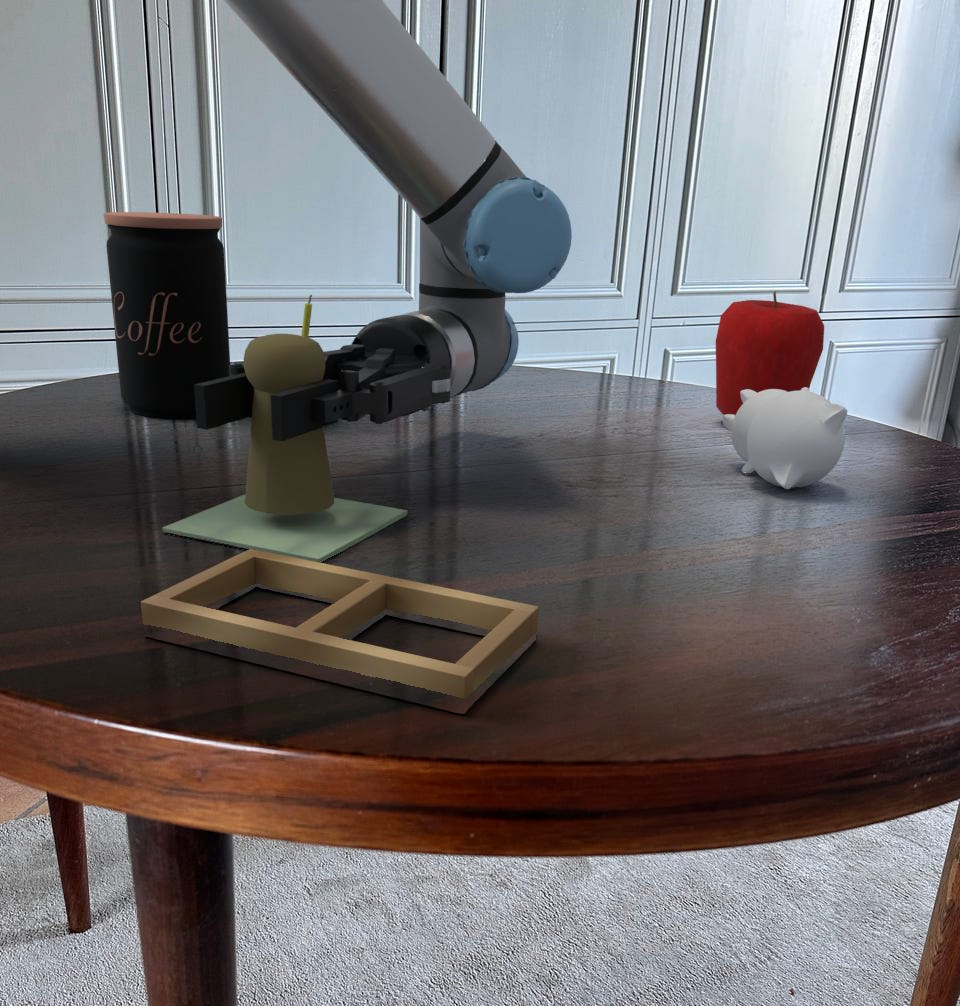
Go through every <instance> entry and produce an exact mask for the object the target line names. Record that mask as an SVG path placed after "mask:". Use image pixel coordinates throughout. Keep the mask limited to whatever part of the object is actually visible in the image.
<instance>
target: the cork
mask: <svg viewBox="0 0 960 1006" xmlns="http://www.w3.org/2000/svg"><path fill="white" fill-rule="evenodd" d="M324 352H325V351H324V349H323V348H322V346H321V345H320V343H319V342H317V341H316V340H315V339H313V338H311V337H309V336H308V337H304V336H301V335H300V334H295V333H294V334H293V333H271V334H265V335H262V336H258V337H254V338H253V339H252V340H250V341H249V342H248V345H247V346H246V348H245V351H244V355H243V362H244V370H245V373H246V376H247V379H248V380H249V381H250V383H251V384H252V386H253V387H254V396H253V408H252V418H251V422H250V434H249V447H248V460H247V471H246V472H247V473H246V485H245V494H246V495H245V494H244V495H245V504H246V505H247V507H248V508H251V509H253V510H255V511H259V512H263V513H268V514H277V515H298V514H309V513H314V512H319V511H322V510H325V509H328V508H330V507H331V506H332V505H334V498H335V494H334V488H333V481H332V474H331V470H330V469H331V468H330V463H329V456H328V455H329V454H328V449H327V443H326V436H325V435H326V434H325V429H324V427H322V428H319V429H317V430H314V431H311V432H308V433H305V434H302V435H299V436H297V437H294V438H291V439H288V440H285V441H278V440H273V439H272V415H271V395H272V394H276V393H279V392H283V391H287V390H290V389H294V388H297V387H301V386H305V385H308V384H312V383H315V382H319V381H322V380H323V377H324V372H325V356H324Z"/></svg>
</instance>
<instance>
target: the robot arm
mask: <svg viewBox="0 0 960 1006" xmlns="http://www.w3.org/2000/svg"><path fill="white" fill-rule="evenodd" d="M223 1H224V2H225V3H226V4H227V6H228V7H229V8H230V9H231V10H232V11H233V12H234V13H235V14H236V16H237V17H238V18H239V19H240V20H241V21H242V23H244V24H245V25H246V27H247V28H248V29H249V30H250V31H251V32H252V34H254V35H255V37H256V38H257V39H258V40H259V41H260V42H261V44H263V45H264V47H265V48H266V49H267V50H268V51H269V52H270V53H271V55H273V56H274V58H275V59H276V60H277V61H278V62H279V63H280V64H281V65H282V67H284V69H285V70H286V71H287V72H288V73H289V74H290V75H291V76H292V78H293V79H294V80H295V81H296V82H297V83H298V84H299V85H300V87H301V88H302V89H303V90H304V91H306V93H307V94H308V95H309V96H310V97H311V98H312V100H313V101H314V102H315V103H316V104H317V105H318V107H320V109H321V110H322V111H323V112H324V113H325V114H326V115H327V117H329V119H330V120H331V121H332V122H333V123H334V125H336V126H337V128H339V130H340V131H341V132H342V133H343V134H344V136H346V137H347V138H348V139H349V141H350V142H351V144H353V145H354V146H355V147H356V148H357V149H358V151H359V152H360V153H361V154H362V155H363V156H364V157H365V158H366V160H368V162H369V163H370V164H371V165H372V166H373V167H374V169H376V170H377V171H378V173H379V174H380V175H381V176H382V177H383V178H384V179H385V181H387V183H388V184H389V185H390V186H391V187H392V188H393V189H394V191H395V192H396V193H397V194H398V195H399V196H400V197H401V198H402V200H404V202H405V203H406V204H407V205H408V206H409V207H410V208H411V209H412V211H414V213H415V214H416V216H418V218H419V283H418V310H415V311H409V312H405V313H400V314H398V315H393V316H387V317H382V318H378V319H375V320H373V321H371V322H369V323H368V324H366V325H365V326H363V327H362V328H360V330H359V331H358V333H357V334H356V336H355V337H354V339H353V340H352V342H351V344H346V345H342V346H341V347H340V348H339V349H333V350H332V349H331V350H326V351H323V352H324V356H325V372H324V377H323V380H322V381H319V382H315V383H312V384H308V385H305V386H301V387H297V388H294V389H290V390H287V391H283V392H279V393H276V394H272V395H271V415H272V439H273V440H278V441H285V440H288V439H291V438H294V437H297V436H299V435H302V434H305V433H308V432H311V431H314V430H317V429H319V428H322V427H323V428H324V427H328V426H331V425H334V424H336V423H339V420H342V421H346V422H347V423H354V422H358V421H360V420H361V419H362V418H363V417H365V416H366V415H369V422H371V423H375V424H376V425H382V424H384V423H388V422H390V421H393V420H396V419H399V418H400V417H401V418H402V417H407V416H410V415H412V414H414V413H418V412H419V411H421V412H428V411H431V409H432V406H434V405H437V404H438V405H439V404H446V403H450V402H451V399H452V398H454V397H457V396H460V395H463V394H466V393H469V392H476V391H478V390H482V389H484V388H486V387H488V386H490V384H492V383H494V382H496V381H497V380H498V379H500V378H502V377H503V376H504V375H505V374H506V373H507V372H508V371H509V370H510V369H511V368H512V366H513V364H514V362H515V360H516V358H517V355H518V350H519V341H520V340H519V333H518V329H517V326H516V324H515V322H514V320H513V317H512V316H511V314H510V313H509V311H507V310H506V298H507V297H506V294H525V293H531V292H534V291H537V290H539V289H541V288H544V287H545V286H546V285H548V284H550V282H552V281H553V280H554V279H555V278H557V276H558V274H559V273H560V272H561V270H562V268H563V267H564V265H565V263H566V261H567V259H568V257H569V254H570V250H571V246H572V238H573V237H572V236H573V235H572V233H573V232H572V231H573V229H572V224H571V219H570V215H569V212H568V211H567V207H566V206H565V204H564V203H563V201H562V200H561V198H560V197H559V196H558V195H557V194H556V193H555V192H554V191H553V190H552V189H550V188H549V187H548V186H546V185H544V184H542V183H540V182H539V181H537V180H536V179H531V178H529V177H527V176H526V175H525V173H524V172H523V171H522V170H521V168H520V167H519V166H518V165H517V164H516V162H515V161H514V160H513V158H512V157H511V156H510V155H509V154H508V153H507V152H506V150H505V149H504V148H502V146H501V145H500V143H498V141H497V140H496V139H495V137H494V136H493V134H492V133H491V132H490V131H489V130H488V129H487V127H486V126H485V125H484V123H483V122H482V121H481V120H480V119H479V117H478V116H477V115H476V114H475V113H474V111H473V110H472V108H471V107H470V106H469V105H468V104H467V102H466V101H465V100H464V99H463V98H462V96H461V95H460V94H459V93H458V92H457V90H456V89H455V88H454V87H453V85H452V84H451V83H450V82H449V81H448V79H447V78H446V76H445V75H444V74H443V73H442V72H441V71H440V69H439V68H438V67H437V65H436V64H435V63H434V62H433V61H432V60H431V58H430V57H429V56H428V55H427V53H426V52H425V51H424V49H423V48H422V47H421V46H420V44H419V43H418V42H417V41H416V40H415V38H414V37H413V36H412V35H411V34H410V33H409V31H408V30H407V28H406V27H405V26H404V25H403V24H402V22H401V21H400V20H399V19H398V18H397V16H396V15H395V14H394V13H393V12H392V10H391V9H390V8H389V7H388V5H387V4H386V2H384V0H223ZM229 374H230V376H229V377H224V378H220V379H216V380H212V381H207V382H203V383H199V384H195V385H194V391H195V405H196V417H195V418H196V419H195V420H196V429H200V430H206V431H208V430H211V429H215V428H218V427H221V426H224V425H228V424H231V423H234V422H238V421H241V420H244V419H247V418H249V419H252V408H253V396H254V387H253V386H252V384H251V383H250V381H249V380H248V379H247V376H246V373H245V370H244V361H242V362H235V363H233V364H230V365H229Z"/></svg>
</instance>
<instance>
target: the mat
mask: <svg viewBox="0 0 960 1006" xmlns="http://www.w3.org/2000/svg"><path fill="white" fill-rule="evenodd" d="M245 495H246V493H245V494H243V495H240V496H238V497H235V498H232V499H230V500H228V501H224V502H223V503H220V504H218V505H215V506H213V507H212V506H211V507H210V508H208V509H205V510H202V511H200V512H198V513H195V514H193V515H190V516H187V517H186V518H185V517H184V518H183V519H180V520H178V521H175V522H174V523H170V524H168V525H165V526H163V527H162V528H161V531H164V532H169V533H170V532H171V533H174V534H179V535H183V536H188V537H194V538H201V539H206V540H211V541H215V542H220V543H224V544H229V545H234V546H238V547H243V548H249V549H255V550H259V551H264V552H269V553H274V554H279V555H284V556H289V557H294V558H299V559H304V560H309V561H314V562H319V563H321V562H323V561H324V560H326V559H328V558H330V557H332V556H333V557H335V556H337V555H339V554H340V552H341V553H343V552H344V551H346V550H347V549H350V548H351V547H353V546H355V545H357V544H358V543H360V542H362V541H364V540H365V539H367V538H369V537H371V536H372V535H375V534H376V533H378V532H380V531H382V530H384V529H385V528H388V527H389V526H391V525H393V524H394V523H396V522H398V521H401V519H404V518H405V517H407V516H408V509H402V508H396V507H391V506H384V505H379V504H373V503H368V502H367V503H366V502H362V501H356V500H349V499H344V498H339V497H334V505H332V506H331V507H330V508H328V509H325V510H322V511H319V512H314V513H309V514H298V515H277V514H268V513H263V512H259V511H255V510H253V509H251V508H248V507H247V505H246V504H245ZM349 547H350V548H349ZM338 553H339V554H338ZM336 554H337V555H336ZM334 555H335V556H334ZM333 557H332V558H333ZM330 559H331V558H330ZM328 560H329V559H328ZM326 561H327V560H326ZM324 562H325V561H324ZM324 562H323V563H324Z"/></svg>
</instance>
